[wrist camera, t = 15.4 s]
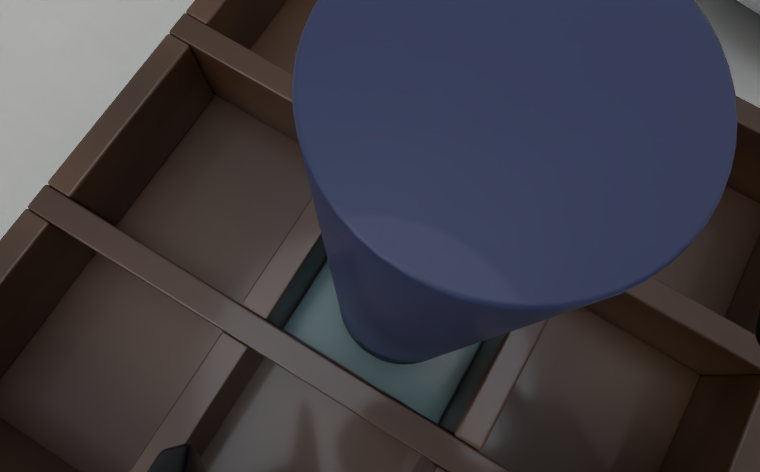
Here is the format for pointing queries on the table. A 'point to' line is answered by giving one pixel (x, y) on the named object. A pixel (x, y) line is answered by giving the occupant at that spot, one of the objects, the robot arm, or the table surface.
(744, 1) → the bowl
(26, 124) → the table surface
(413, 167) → the navy round peg
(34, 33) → the table surface
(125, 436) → the grid
